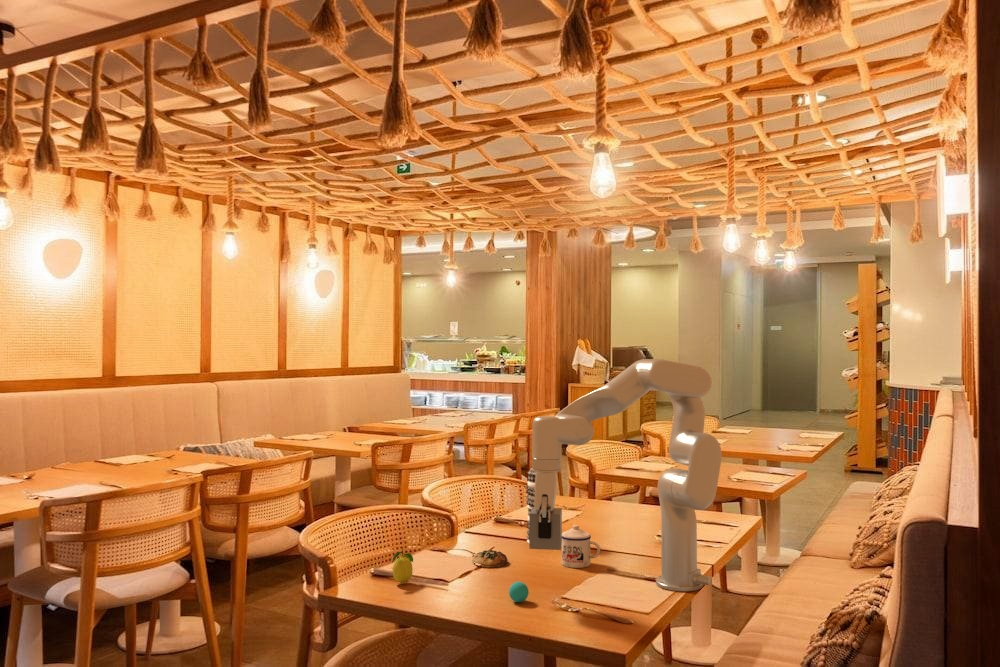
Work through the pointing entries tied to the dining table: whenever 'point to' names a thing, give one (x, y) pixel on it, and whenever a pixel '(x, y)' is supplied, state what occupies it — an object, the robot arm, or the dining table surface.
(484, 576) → the dining table surface
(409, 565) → the lemon
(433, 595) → the dining table surface
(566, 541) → the teacup with lid
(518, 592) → the ball
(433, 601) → the dining table surface
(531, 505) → the decorative candle
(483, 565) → the bread roll
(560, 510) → the upright gray block
